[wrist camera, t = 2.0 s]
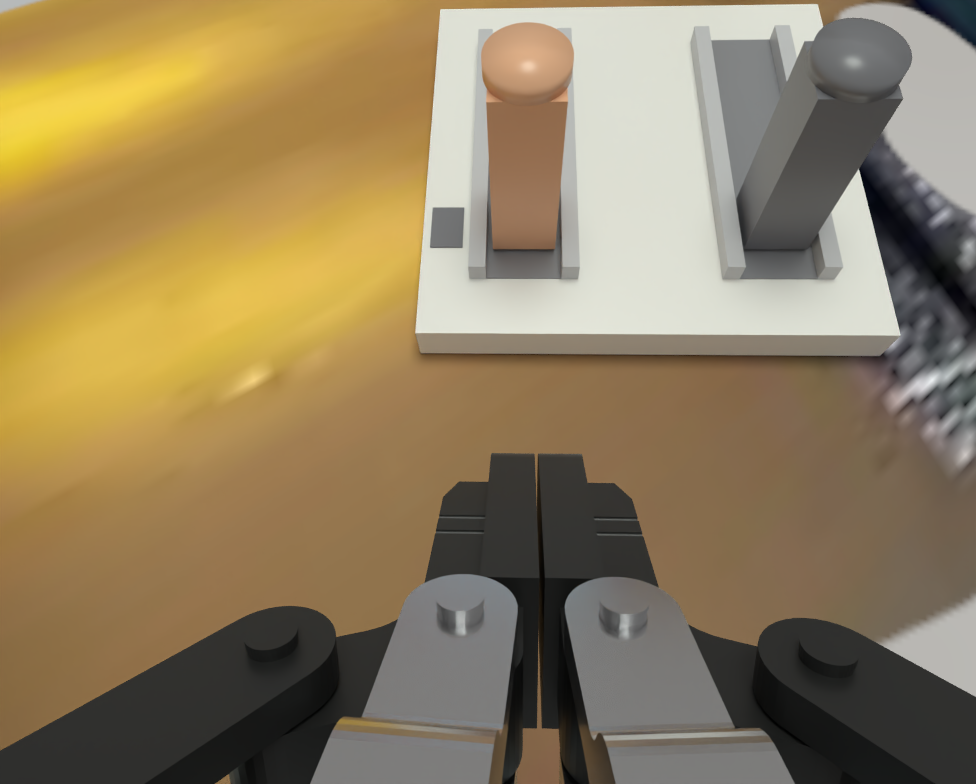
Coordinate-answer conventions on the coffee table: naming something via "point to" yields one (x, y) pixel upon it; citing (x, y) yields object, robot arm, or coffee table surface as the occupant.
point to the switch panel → (642, 200)
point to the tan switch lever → (526, 131)
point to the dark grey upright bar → (821, 131)
